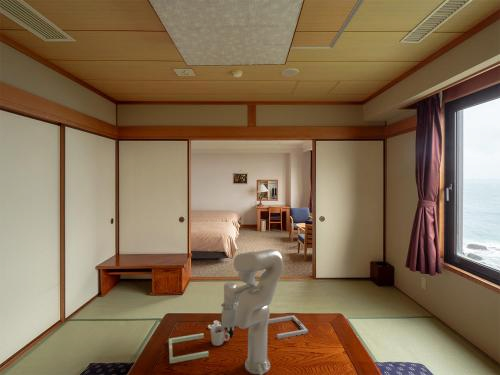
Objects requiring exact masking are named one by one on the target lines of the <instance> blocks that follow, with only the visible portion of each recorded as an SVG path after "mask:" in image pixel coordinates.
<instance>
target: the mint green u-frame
mask: <svg viewBox="0 0 500 375" xmlns="http://www.w3.org/2000/svg"><path fill="white" fill-rule="evenodd" d="M204 338H205V336H204V333H202V332H201V333H196V334H189V335H184V336H177V337H172V338H170V337H169V338H168V352H169V356H168V357H169V364H174V363H175V364H176V363H180V362H186V361H191V360H197V359H201V358H206V357H209V350H207V351H201V352H194V353H188V354H184V355H178V356H173V354H174V353H173V344H175V343H176V344H177V343H180V342H181V343H182V342H188V341H192V340H193V341H194V340H200V339H204Z"/></svg>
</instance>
